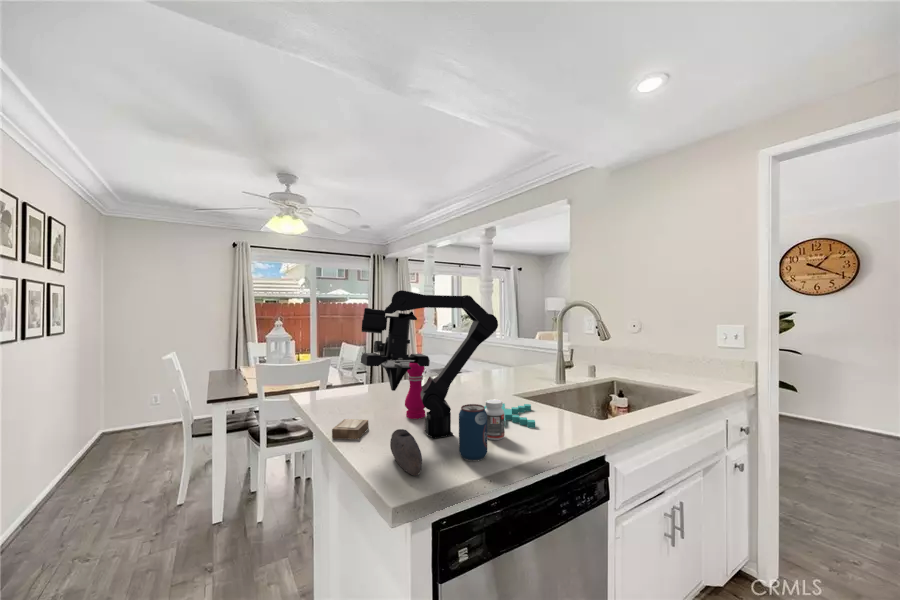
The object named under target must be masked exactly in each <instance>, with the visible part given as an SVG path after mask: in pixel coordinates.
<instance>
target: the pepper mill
mask: <svg viewBox="0 0 900 600" xmlns="http://www.w3.org/2000/svg"><path fill="white" fill-rule="evenodd" d="M409 367H411V369H408V370H407V372H406V373H407V374H408V375H407V377H408V378H407V380H408V381H409V388H408V392H407V394H406V396H405V400H404V407H405V408H406V409H407V410H406V412H405V413H406V418H407V419H410V420H418V419H419V418H420V419H423V417H424V418H426V410H425V409H426V408H425V407H424V405H423V402H422V400H421V391H422V386H423V385H422V384H423V383H422V381H423V380H424V372H425V366H419V365H418V363H409ZM420 419H419V420H420Z"/></svg>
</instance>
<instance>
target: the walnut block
mask: <svg viewBox="0 0 900 600" xmlns="http://www.w3.org/2000/svg"><path fill="white" fill-rule="evenodd" d="M367 429H368V430H369V419H349V418H347V419H346V418H343V420H341V421H340V422H338V424H336V425H335V426H334V427H332V428H331V439H334V440H337V439H338V440H339V439H340V440H359V439H360V438H361V437H362V436H363V435H364V434H365V433H366V432H367V431H368V430H367ZM366 430H367V431H366ZM365 431H366V432H365Z"/></svg>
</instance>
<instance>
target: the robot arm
mask: <svg viewBox="0 0 900 600" xmlns="http://www.w3.org/2000/svg"><path fill="white" fill-rule="evenodd" d="M390 300H391V303H390V304H389V305H388V306H386V307H385V309H384V310H383V309H376V308H375V309H373V308H369V307H364V310H363V316H362V317H363V318H362V320H361V333H370V334H371V333H372V334H382V333H383V331H387V325H388V334H387V336H386V339H385V342H384V343H383V341H382V340H375V341H374V342H373V343H374V344H373V352H363V353H362V354H361V356H360V363H361V364H363V365H364V366H366V367H379V366H380V367H382V368H384V369H385V372H386V375H387V378H388V383H389V386H390V390H391V391H392V392H395V391H396V390H397V388H398V387H399V385H400V383H401V381H402V380H403V378H404V376H405V374H406V373H408V372H407V370H408V369H411V367H409V363H418V365H419V366H424V367H429V366H430V362H431V361H430V360H431V359H430V357H429V356H428V355H425V354H423V353H410V354H408V347H409V346H408V345H409V344H411V339H409V334H410V324H411V321H417V320H418V318H417V317H416V316H415V314H414V312H413V311H412V310H418V309H423V308H425V309H426V308H429V309H437V308H438V309H439V308H440V309H462V311H464V313H465V314H466V315H467V316H468V317H469V318H470V320H471V321H472V323H471V325H470V327H469V330H468V333H467V336H466V337H465V338H464V340H462V341H463V342H462V343H461V344H460V345H459V347H458V348H457V349H456V351H455V352H454V354H453V355H452V356H451V358H450V359H449V360H448V362H447V363H446V365H445V366H444V367H443V369H442V370H441V371H440V373H438V374H437V376H435V377H434V378H432V377H431V376H428V378H427V380H426V381H425V384H424V385H422V391H421V400H422V402H423V405H424V407H425V408H424V409H426V410H428V411H427V412H426V417H424V433H425V434H426V435H427V436H428V437H430V438H431V439H432V440H433V439H439V438H444V437H450V436H451V437H452V436H454V433H453V432H452V430H451V429H452V428H451V427H452V424H451V423H452V421H451V416H452V414H451V410H452V408H451V407H450V405H449V404H448V402H447V400H446V398H447V395H448V392H449V389H450V386H451V384H452V383H453V381H454V380H455V379H456V378H457V376H458V375H459V373H461V370H462V369H463V368H464V366H465V365H466V364H467V362H468V361H469V360H470V358H471V356H472V355H473V354H474V352H475V351H476V350H477V349H478V347H479V346H480V345H481V344H482V343H483V342H486V340H487V339H489V338H490V337H491V336H492V334H494V333H495V332H496V330H498V327H499V322H498V321H499V320H498V319H497V317H496V316H495V315H494V314H491V313H488V312H487V311H486V310H485V309H484V308H483V307H482V306H481V305H480V303H477V302H476V301H475V299H474V298H473V297H472V296H471V295H468V294H466V295H442V294H440V295H438V294H435V295H434V294H432V295H431V294H422V293H417V292H413V291H408V290H398V291H396V292H395V293H394V294H393V295H392V297H391V299H390ZM397 311H400V312H398V314H397V315H395V316H394V315H392V314H394V313H396V312H397ZM407 311H410V312H409V313H403V312H407ZM387 314H391V315H387ZM388 319H389V321H388ZM388 322H389V323H388Z"/></svg>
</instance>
